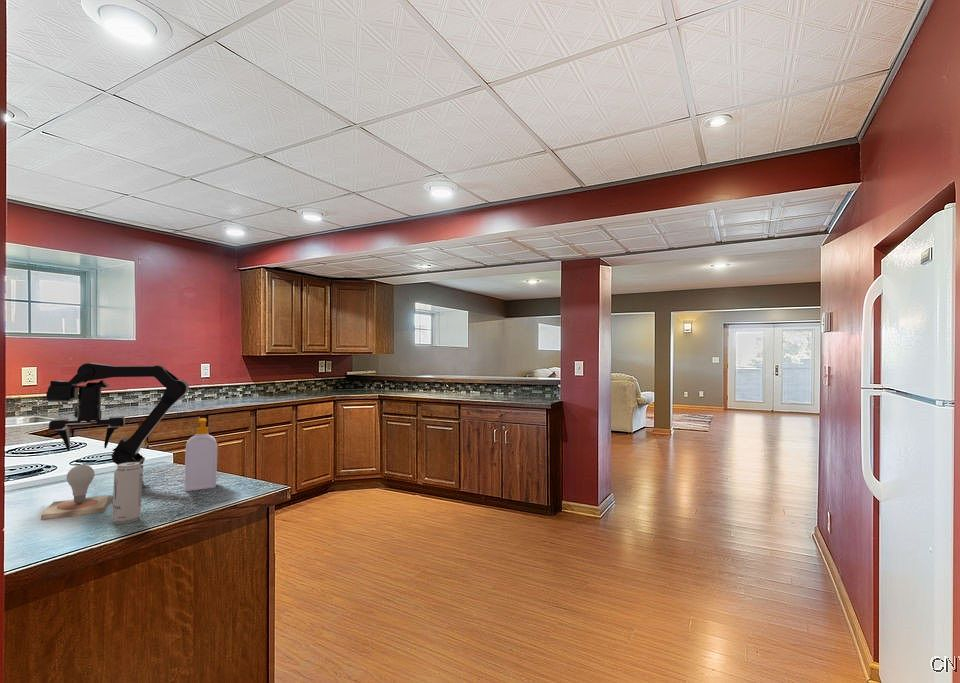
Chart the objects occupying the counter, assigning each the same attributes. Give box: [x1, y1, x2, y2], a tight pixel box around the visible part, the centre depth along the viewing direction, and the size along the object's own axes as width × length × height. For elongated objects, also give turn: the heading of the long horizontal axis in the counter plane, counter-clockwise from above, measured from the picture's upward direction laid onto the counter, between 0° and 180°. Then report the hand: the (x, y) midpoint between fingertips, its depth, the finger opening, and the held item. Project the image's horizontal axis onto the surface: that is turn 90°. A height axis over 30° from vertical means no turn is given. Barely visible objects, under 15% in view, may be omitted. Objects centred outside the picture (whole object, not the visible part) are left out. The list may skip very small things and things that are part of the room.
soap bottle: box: [183, 417, 219, 492], centre depth 158 cm, size 9×7×23 cm
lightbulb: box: [66, 464, 95, 504], centre depth 134 cm, size 6×6×11 cm
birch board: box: [40, 495, 111, 520], centre depth 134 cm, size 13×13×1 cm
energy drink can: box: [111, 462, 143, 525], centre depth 126 cm, size 6×6×15 cm
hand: (87, 449), depth 154 cm, fingers open, 9 cm apart
